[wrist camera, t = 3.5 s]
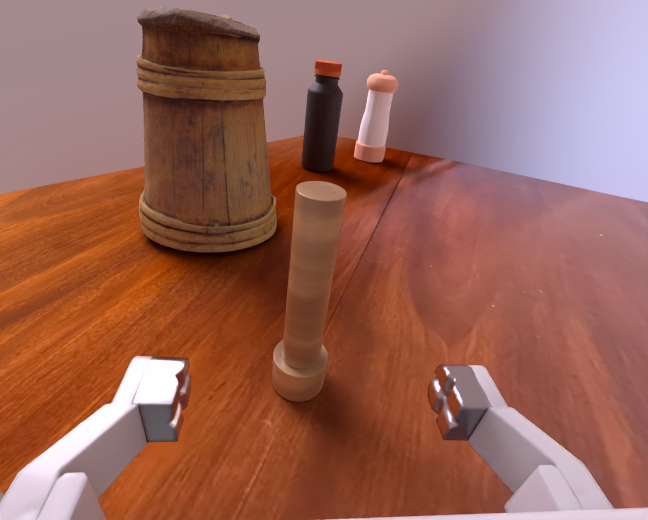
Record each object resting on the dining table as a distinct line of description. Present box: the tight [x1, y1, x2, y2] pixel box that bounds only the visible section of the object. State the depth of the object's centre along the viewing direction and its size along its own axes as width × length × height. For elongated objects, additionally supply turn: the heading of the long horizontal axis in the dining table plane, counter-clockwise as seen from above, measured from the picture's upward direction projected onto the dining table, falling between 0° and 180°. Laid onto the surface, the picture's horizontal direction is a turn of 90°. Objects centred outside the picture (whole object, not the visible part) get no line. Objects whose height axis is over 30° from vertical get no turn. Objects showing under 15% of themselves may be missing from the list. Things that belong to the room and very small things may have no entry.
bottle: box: [302, 60, 343, 172], centre depth 71 cm, size 7×7×20 cm
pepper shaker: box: [354, 70, 398, 162], centre depth 82 cm, size 7×7×19 cm
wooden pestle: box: [272, 181, 347, 402], centre depth 25 cm, size 4×4×17 cm
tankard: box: [136, 7, 277, 253], centre depth 46 cm, size 18×24×25 cm
